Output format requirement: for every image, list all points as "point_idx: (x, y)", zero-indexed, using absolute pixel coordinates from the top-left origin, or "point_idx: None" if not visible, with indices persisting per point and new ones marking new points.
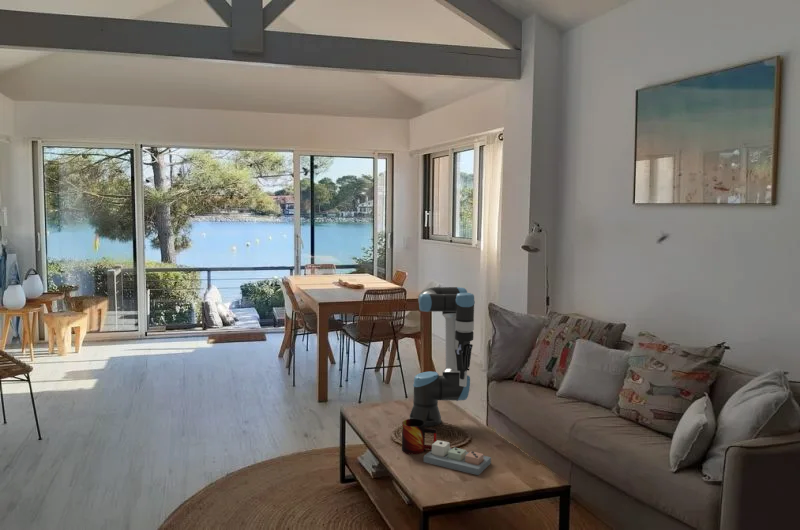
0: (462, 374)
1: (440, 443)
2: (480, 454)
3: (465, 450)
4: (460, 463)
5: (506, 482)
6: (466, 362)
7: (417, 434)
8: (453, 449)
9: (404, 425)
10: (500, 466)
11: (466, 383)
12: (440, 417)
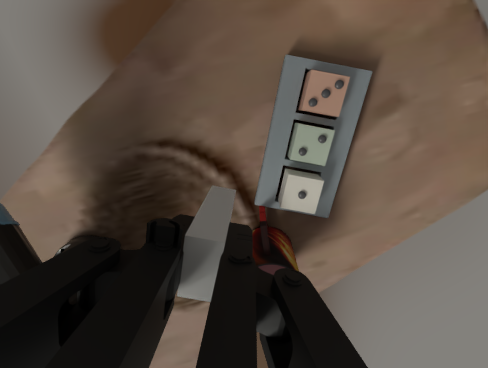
0: (250, 253)
1: (305, 195)
2: (318, 77)
3: (302, 125)
4: (348, 125)
5: None
6: (146, 319)
7: (293, 261)
8: (305, 157)
9: None
10: (295, 27)
11: (214, 192)
12: (79, 242)
